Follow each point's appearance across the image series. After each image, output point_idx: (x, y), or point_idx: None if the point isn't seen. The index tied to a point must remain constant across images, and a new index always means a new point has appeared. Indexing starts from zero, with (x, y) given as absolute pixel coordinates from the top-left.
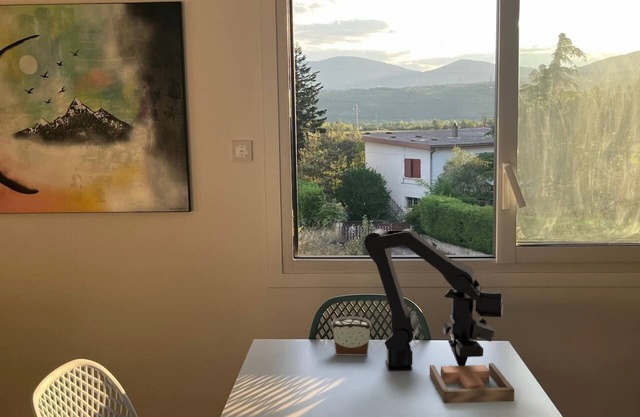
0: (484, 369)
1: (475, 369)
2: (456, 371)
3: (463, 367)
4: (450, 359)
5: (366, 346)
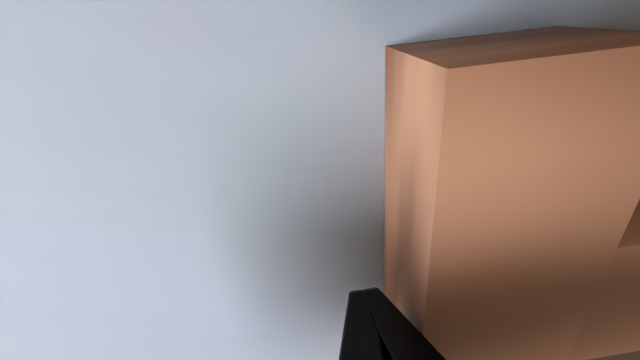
0: (618, 114)
1: (565, 232)
2: None
3: (475, 337)
4: (9, 318)
5: None
